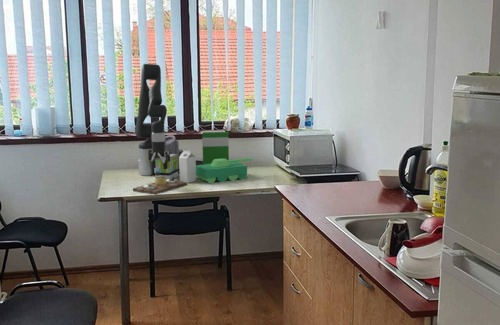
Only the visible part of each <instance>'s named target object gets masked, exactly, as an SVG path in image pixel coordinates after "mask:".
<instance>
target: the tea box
mask: <svg viewBox="0 0 500 325" xmlns="http://www.w3.org/2000/svg"><path fill="white" fill-rule="evenodd" d="M155 162H156V167H155V168H154V170H155V174H154V176H155V177H154V179H155V178H156V177H166V180H167V179H172V177H174V179H177V178H178V177H179V174H178V154H170V162H167V169H164V167H163V163H164V162H163V161H162V160H161V158H156V160H155Z"/></svg>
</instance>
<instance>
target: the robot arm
mask: <svg viewBox="0 0 500 325" xmlns="http://www.w3.org/2000/svg"><path fill="white" fill-rule="evenodd" d="M140 73H141V74H140V89H139V90H140V92H139V97H138V98H139V99H138V110H137V118H136V124H135V136H136V137H137V139H143V138H144V139H145V140H144V141H142V142H141V143H139V144H138V155H139V156H138V157H139V159H138V160H137V162H138V174H139V175H140V176H144V177H146V176H148V177H149V176H155V167H156V162H155V160H156V158H161V160H162V161H163V162H164V163H163V167H164V169H167V162H170V152H169V151H165V137H166V134H165V122H166V117H167V112H168V110H167V107H166V105H164V104H163V98H162V69H161V66H160V65H159V64H157V63H156V64H154V63H143V64H142V65H141V71H140ZM148 80H149V81H152V80H153V81H154V83H153V84H152V85H151V86H150V87H149V84H148V82H147V81H148ZM147 117H149V118H151V119H153V118H154V119H155V118H156V119H157V118H159V120H157V121H153V122H152V123H151V122H147V123H146V122H145V120H146V119H147Z"/></svg>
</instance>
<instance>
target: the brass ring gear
mask: <svg viewBox="0 0 500 325" xmlns="http://www.w3.org/2000/svg"><path fill="white" fill-rule="evenodd" d="M154 183H155V185H156V186H157V185H158V186H166V177H156V178H155V177H154Z"/></svg>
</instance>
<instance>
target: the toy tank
mask: <svg viewBox="0 0 500 325" xmlns="http://www.w3.org/2000/svg"><path fill="white" fill-rule="evenodd" d="M250 161H251V162H252V161H253V157H250V158H249V157H248V158H239V159H238V158H237V159H229V160H227V159H214V160H213V162H212V164H204V165H203V164H196V178H198V179H199V180H202V181H205V182H206V183H209V184H212V183H213V184H214V183H215V181H217V182H221V183H223V182H226V181H227V180H230V181H233V182H234V181H237V179H238V180H245V179H246V178H247V176H248V165H246V164H244V163H241V162H250Z"/></svg>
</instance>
